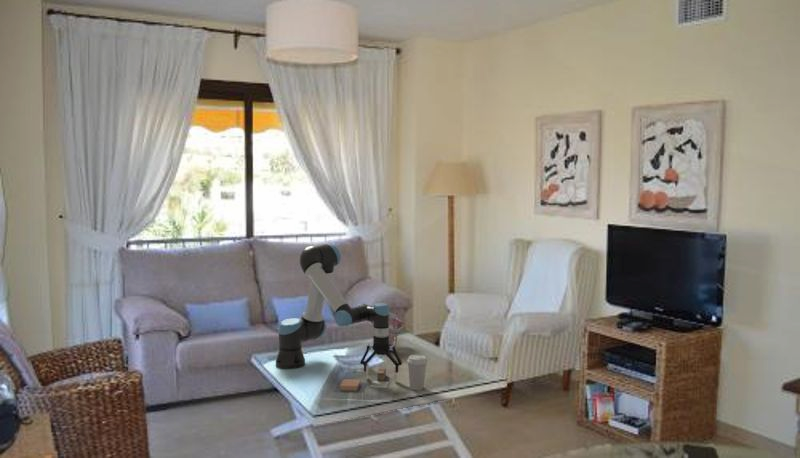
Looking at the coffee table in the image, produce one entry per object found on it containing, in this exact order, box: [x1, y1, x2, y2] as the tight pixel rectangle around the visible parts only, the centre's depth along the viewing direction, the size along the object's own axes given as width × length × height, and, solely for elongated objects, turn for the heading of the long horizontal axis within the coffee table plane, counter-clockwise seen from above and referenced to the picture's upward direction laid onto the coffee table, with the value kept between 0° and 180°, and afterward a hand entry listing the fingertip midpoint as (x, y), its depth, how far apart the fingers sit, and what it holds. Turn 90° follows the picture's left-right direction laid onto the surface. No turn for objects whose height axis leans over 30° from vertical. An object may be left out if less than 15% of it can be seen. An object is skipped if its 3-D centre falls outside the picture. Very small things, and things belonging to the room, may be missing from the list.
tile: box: [340, 378, 361, 391], centre depth 314 cm, size 2×8×9 cm
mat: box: [333, 381, 368, 393], centre depth 315 cm, size 13×14×1 cm
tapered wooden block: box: [369, 366, 390, 389], centre depth 323 cm, size 18×8×5 cm, turn 175°
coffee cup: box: [406, 354, 428, 391], centre depth 315 cm, size 10×10×15 cm
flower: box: [368, 311, 409, 351], centre depth 380 cm, size 20×22×25 cm
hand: (381, 378), depth 325 cm, fingers open, 13 cm apart
